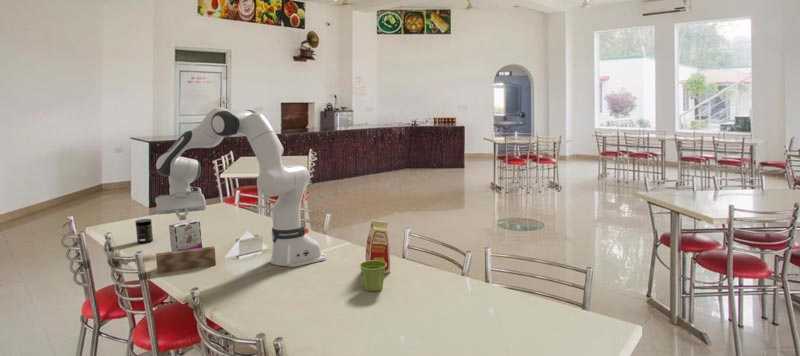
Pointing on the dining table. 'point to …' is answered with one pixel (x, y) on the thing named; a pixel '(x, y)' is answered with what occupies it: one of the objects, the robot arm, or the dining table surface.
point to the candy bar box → (185, 235)
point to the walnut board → (185, 259)
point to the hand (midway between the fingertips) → (182, 219)
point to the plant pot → (373, 274)
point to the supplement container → (144, 231)
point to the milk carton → (378, 244)
